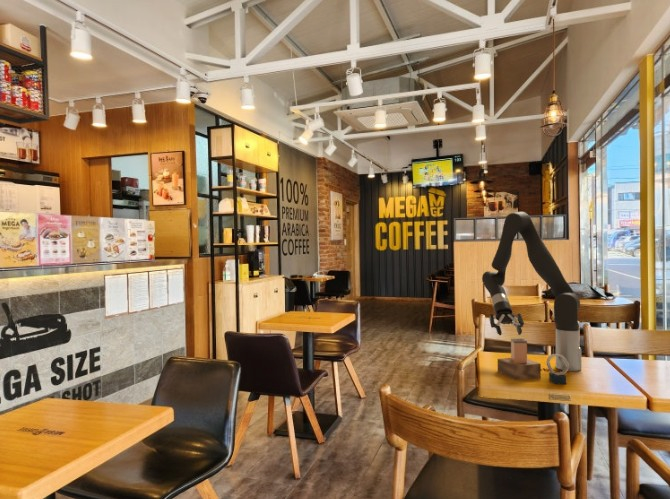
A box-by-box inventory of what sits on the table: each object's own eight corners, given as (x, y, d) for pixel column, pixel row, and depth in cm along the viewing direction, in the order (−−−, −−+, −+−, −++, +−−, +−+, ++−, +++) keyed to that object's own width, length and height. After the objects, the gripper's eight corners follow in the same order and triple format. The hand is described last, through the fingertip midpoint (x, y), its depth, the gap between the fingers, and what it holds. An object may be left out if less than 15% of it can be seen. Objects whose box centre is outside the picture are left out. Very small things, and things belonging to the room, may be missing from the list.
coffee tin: (523, 359, 193) (523, 338, 193) (527, 363, 188) (527, 341, 187) (510, 359, 193) (510, 338, 193) (514, 362, 188) (514, 341, 188)
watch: (571, 384, 177) (571, 356, 177) (550, 384, 177) (549, 355, 177) (565, 380, 182) (565, 352, 182) (544, 379, 183) (544, 352, 183)
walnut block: (522, 370, 198) (521, 357, 198) (540, 378, 186) (540, 363, 186) (497, 372, 195) (497, 358, 195) (515, 380, 183) (515, 365, 183)
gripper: (487, 300, 211) (495, 329, 200) (518, 300, 211) (528, 329, 199) (484, 310, 217) (492, 339, 205) (514, 310, 216) (524, 338, 205)
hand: (510, 334), depth 202 cm, fingers open, 8 cm apart
